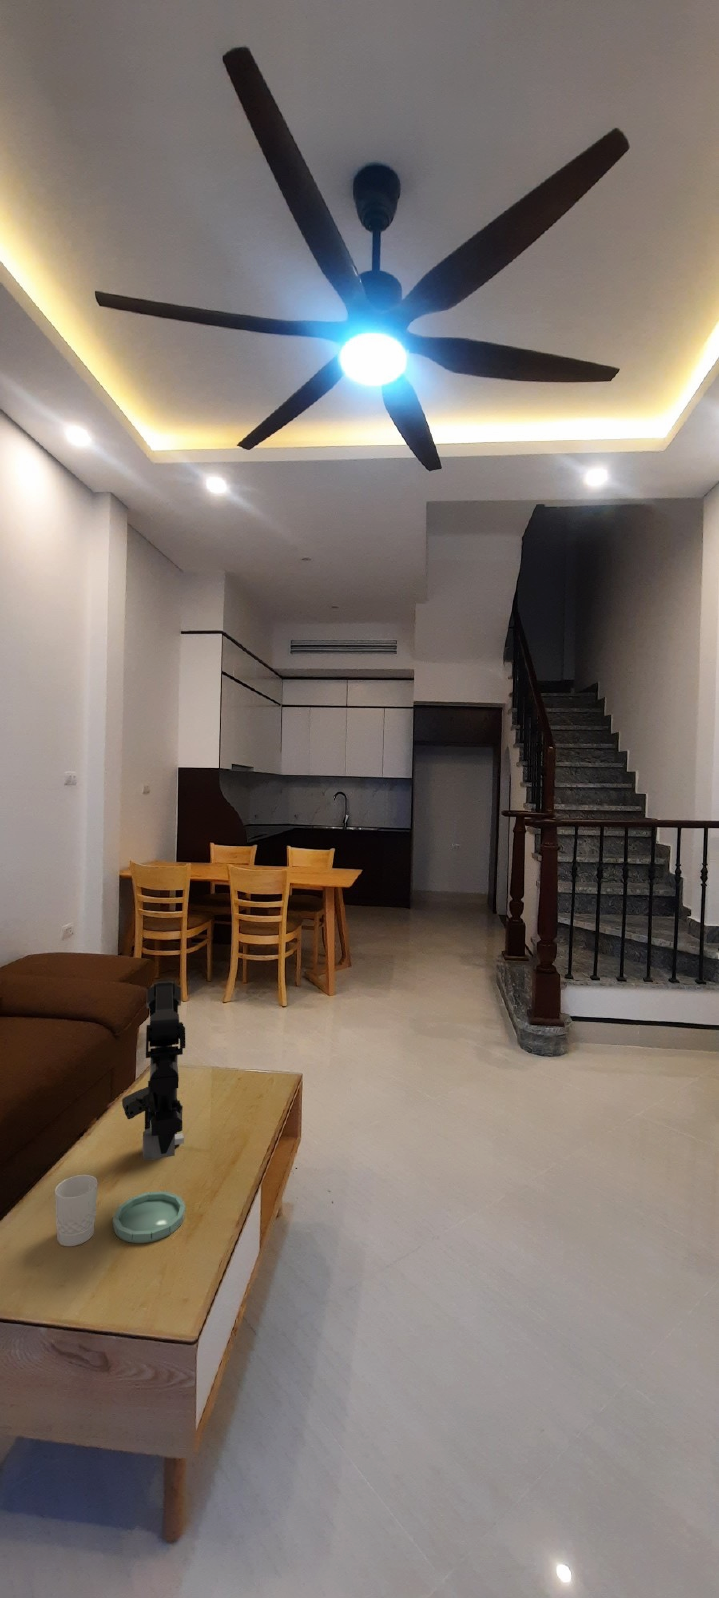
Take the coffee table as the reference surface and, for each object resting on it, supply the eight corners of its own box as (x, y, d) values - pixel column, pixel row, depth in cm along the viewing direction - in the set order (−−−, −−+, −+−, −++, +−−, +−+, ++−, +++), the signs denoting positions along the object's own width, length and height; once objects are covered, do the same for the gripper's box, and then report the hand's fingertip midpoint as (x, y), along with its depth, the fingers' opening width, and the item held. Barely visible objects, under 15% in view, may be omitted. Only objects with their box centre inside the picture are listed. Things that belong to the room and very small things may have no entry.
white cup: (105, 1228, 133) (106, 1179, 133) (77, 1253, 126) (77, 1201, 126) (74, 1219, 136) (75, 1171, 136) (45, 1243, 128) (45, 1193, 128)
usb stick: (143, 1161, 139) (143, 1137, 139) (142, 1152, 142) (142, 1129, 142) (184, 1154, 142) (184, 1130, 142) (182, 1145, 145) (182, 1122, 146)
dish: (98, 1230, 132) (98, 1222, 132) (147, 1193, 145) (147, 1185, 145) (152, 1251, 126) (152, 1242, 126) (198, 1210, 139) (198, 1202, 139)
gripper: (123, 1066, 148) (122, 1135, 148) (126, 1099, 131) (124, 1178, 130) (174, 1059, 152) (173, 1127, 152) (183, 1091, 135) (182, 1167, 134)
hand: (162, 1148), depth 142 cm, fingers closed on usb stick, 4 cm apart
